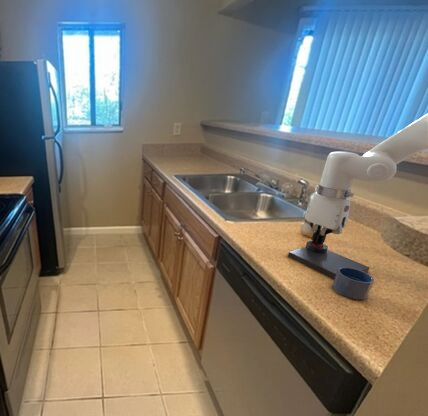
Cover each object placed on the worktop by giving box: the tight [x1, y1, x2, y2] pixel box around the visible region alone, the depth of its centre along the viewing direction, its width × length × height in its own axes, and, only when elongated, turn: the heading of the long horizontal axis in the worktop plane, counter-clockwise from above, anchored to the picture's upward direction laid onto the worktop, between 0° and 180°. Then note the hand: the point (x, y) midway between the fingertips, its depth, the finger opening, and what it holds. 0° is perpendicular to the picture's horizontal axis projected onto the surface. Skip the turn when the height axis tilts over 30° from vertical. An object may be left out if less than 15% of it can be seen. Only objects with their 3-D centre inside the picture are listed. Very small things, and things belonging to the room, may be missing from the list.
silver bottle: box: [300, 184, 323, 238], centre depth 103 cm, size 6×7×20 cm
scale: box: [287, 240, 370, 280], centre depth 87 cm, size 16×13×4 cm
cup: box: [332, 267, 374, 300], centre depth 74 cm, size 7×7×6 cm
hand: (316, 243), depth 92 cm, fingers closed
